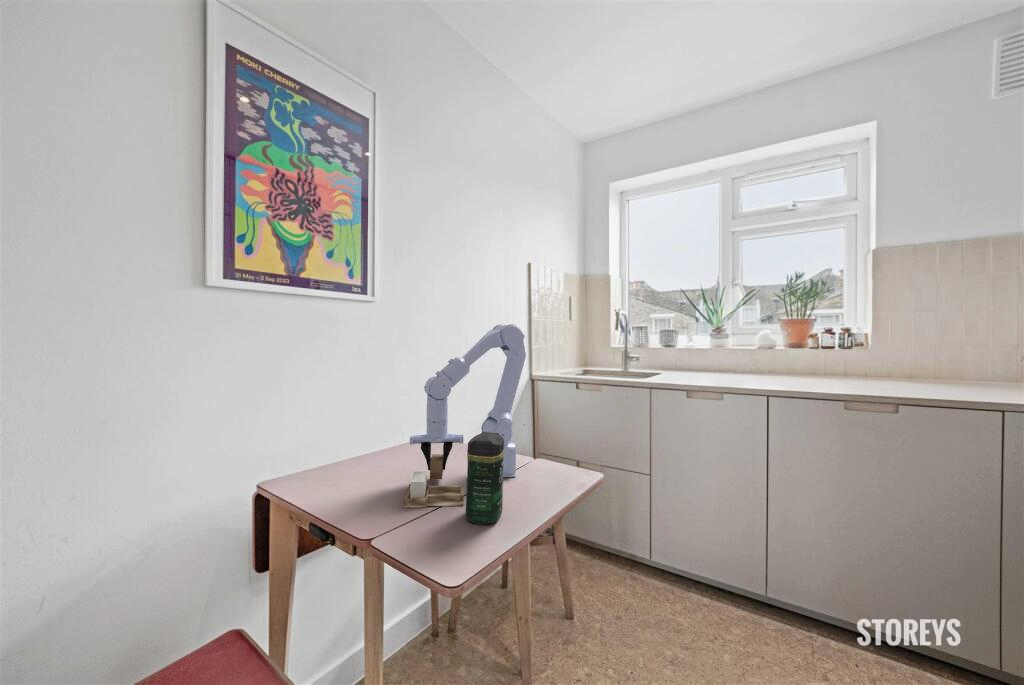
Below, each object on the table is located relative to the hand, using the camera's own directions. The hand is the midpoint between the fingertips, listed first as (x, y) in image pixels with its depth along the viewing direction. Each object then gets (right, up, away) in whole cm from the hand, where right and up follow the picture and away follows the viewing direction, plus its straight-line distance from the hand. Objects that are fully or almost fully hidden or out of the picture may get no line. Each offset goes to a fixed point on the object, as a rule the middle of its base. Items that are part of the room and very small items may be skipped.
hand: (436, 469), depth 110 cm
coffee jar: (+15, -5, -20) cm, 25 cm away
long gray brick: (-2, -3, -11) cm, 12 cm away
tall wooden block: (0, -2, 0) cm, 2 cm away
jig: (+2, -4, -11) cm, 12 cm away
